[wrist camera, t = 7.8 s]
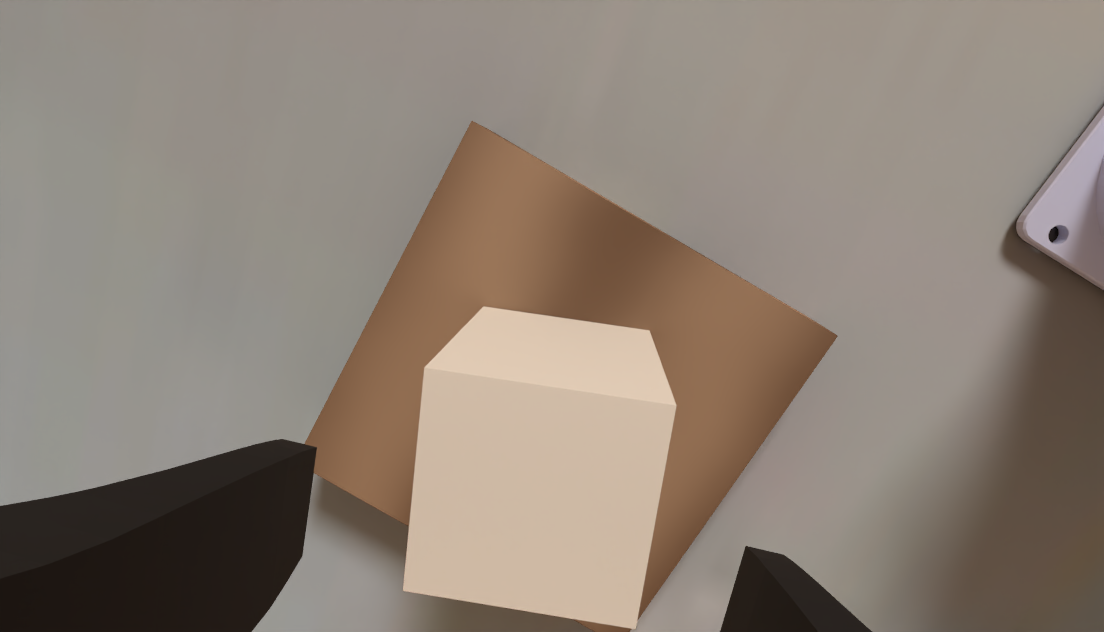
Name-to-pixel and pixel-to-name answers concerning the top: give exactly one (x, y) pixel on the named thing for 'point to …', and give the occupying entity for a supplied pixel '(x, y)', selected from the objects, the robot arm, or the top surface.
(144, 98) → the top surface
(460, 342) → the cream block
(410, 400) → the walnut block
